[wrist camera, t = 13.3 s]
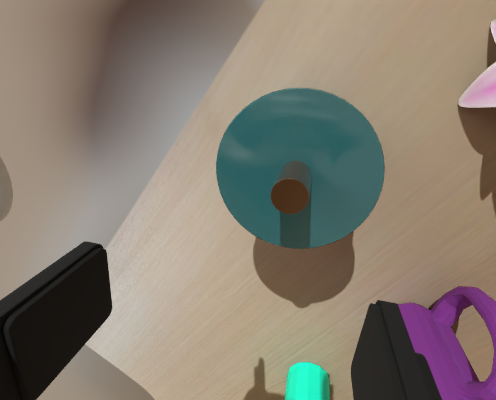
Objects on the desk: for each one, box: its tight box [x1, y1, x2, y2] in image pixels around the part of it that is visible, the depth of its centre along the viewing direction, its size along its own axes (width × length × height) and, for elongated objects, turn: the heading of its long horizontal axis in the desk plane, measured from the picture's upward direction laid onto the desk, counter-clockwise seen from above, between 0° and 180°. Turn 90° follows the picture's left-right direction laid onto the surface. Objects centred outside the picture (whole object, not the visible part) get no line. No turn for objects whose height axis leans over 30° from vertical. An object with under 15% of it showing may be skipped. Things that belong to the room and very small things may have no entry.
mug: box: [398, 286, 496, 400], centre depth 30 cm, size 9×16×15 cm, turn 158°
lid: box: [216, 88, 385, 249], centre depth 22 cm, size 12×12×6 cm
